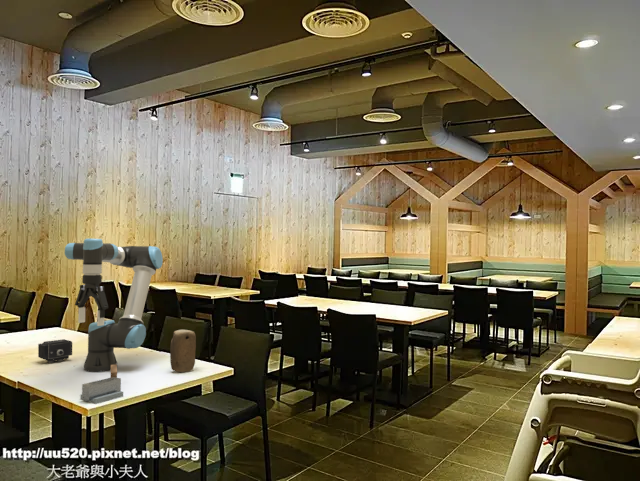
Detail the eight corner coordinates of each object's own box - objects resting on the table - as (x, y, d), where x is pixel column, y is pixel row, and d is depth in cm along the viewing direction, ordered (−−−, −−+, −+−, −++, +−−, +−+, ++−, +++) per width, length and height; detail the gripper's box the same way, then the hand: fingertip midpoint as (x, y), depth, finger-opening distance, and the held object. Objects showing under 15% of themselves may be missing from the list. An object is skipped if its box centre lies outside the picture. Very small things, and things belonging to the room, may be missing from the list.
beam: (116, 381, 224) (116, 364, 224) (116, 390, 210) (117, 372, 210) (110, 382, 223) (110, 364, 223) (110, 391, 209) (110, 372, 209)
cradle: (107, 392, 208) (107, 387, 208) (123, 396, 202) (123, 391, 203) (80, 399, 198) (80, 394, 198) (95, 403, 192) (96, 399, 192)
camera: (63, 360, 269) (34, 361, 257) (66, 338, 270) (36, 339, 258) (73, 363, 262) (43, 365, 250) (76, 340, 263) (46, 341, 252)
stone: (175, 374, 238) (176, 332, 239) (167, 371, 243) (168, 330, 244) (197, 370, 247) (197, 329, 247) (189, 368, 252) (190, 327, 252)
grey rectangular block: (113, 390, 207) (113, 376, 207) (120, 392, 205) (120, 378, 205) (81, 398, 195) (82, 384, 196) (88, 400, 193) (89, 386, 193)
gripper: (118, 275, 213) (116, 325, 213) (83, 272, 226) (82, 320, 226) (102, 276, 207) (100, 327, 206) (67, 273, 220) (66, 322, 220)
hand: (91, 324), depth 216 cm, fingers open, 13 cm apart
